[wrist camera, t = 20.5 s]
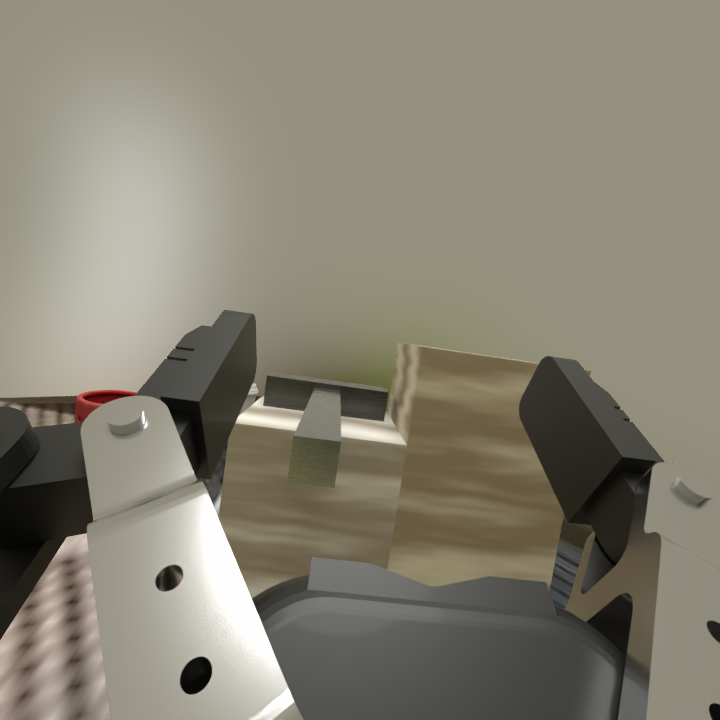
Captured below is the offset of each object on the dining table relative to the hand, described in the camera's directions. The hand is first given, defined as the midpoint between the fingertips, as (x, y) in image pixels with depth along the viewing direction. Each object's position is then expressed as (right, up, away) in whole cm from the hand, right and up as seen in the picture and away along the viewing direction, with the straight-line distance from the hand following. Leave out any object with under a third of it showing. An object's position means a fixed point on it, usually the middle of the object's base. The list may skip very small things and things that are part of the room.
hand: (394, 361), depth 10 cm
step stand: (-1, -30, +27) cm, 40 cm away
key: (-4, -6, +20) cm, 21 cm away
